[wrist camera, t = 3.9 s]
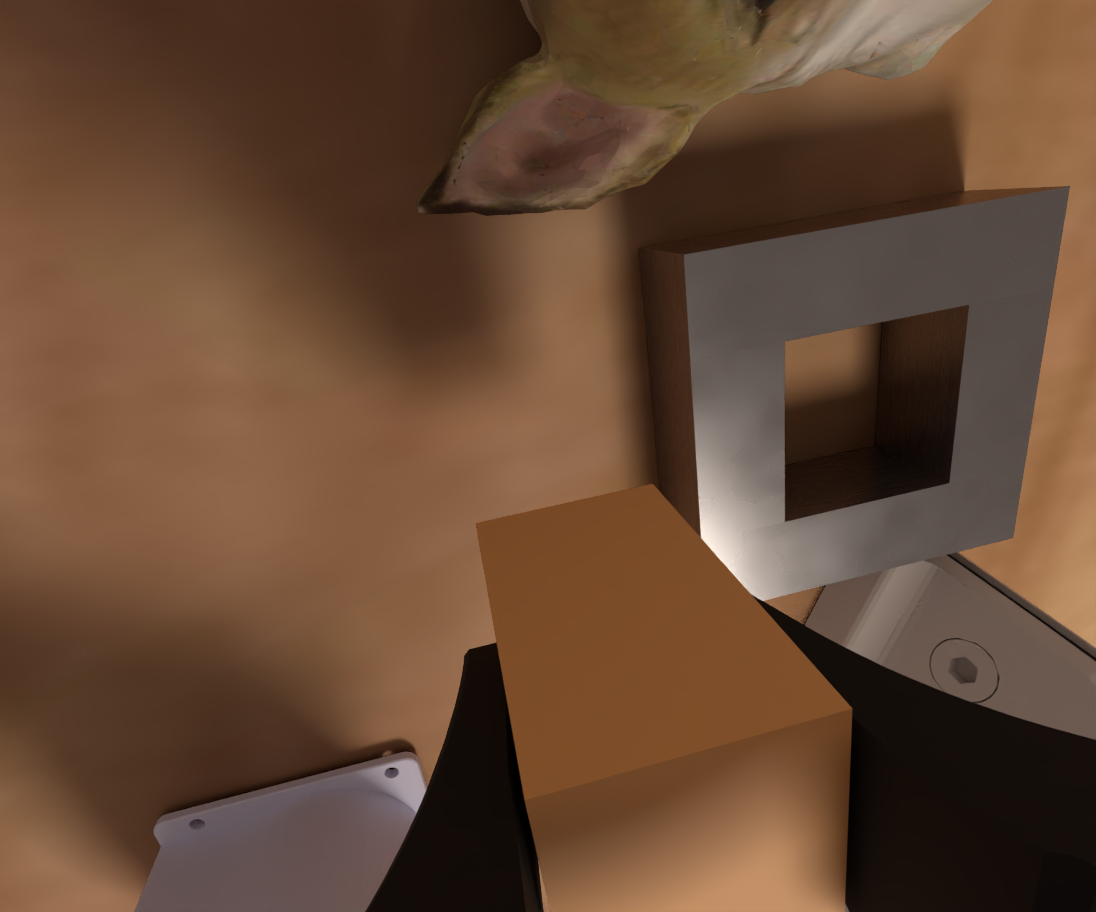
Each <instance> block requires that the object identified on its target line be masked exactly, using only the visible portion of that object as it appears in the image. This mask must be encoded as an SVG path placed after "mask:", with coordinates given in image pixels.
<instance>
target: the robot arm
mask: <svg viewBox="0 0 1096 912" xmlns="http://www.w3.org/2000/svg"><path fill="white" fill-rule="evenodd" d="M751 595H752V594H751ZM752 596H753V595H752ZM753 597H754V598H755V599H756V601H757V602H758V603H759V604H760V605H761V606H762V607H763V608H764V610H765V611H766V612H767V613H768V614H769V615H770V616H771V617H772V619H773V620H774V621H775V622H776V623H777V624H778V625H779V626H780V628H781V629H782V630H783V631H784V632H785V633H786V634H787V635H788V637H789V638H790V639H791V640H792V641H793V642H794V643H795V644H796V646H797V647H798V648H799V649H800V650H801V651H802V652H803V653H804V655H805V656H806V657H807V658H808V659H809V660H810V661H811V663H812V664H813V665H814V666H815V667H816V668H817V669H818V670H819V672H820V673H821V674H822V675H823V676H824V677H825V678H826V679H827V681H828V682H829V683H830V684H831V685H832V686H833V687H834V688H835V690H836V691H837V692H838V693H839V694H840V695H841V696H842V697H843V699H844V700H845V701H846V702H847V703H848V704H849V705H850V706H851V708H852V732H851V759H850V785H849V811H848V837H847V864H846V890H845V904H846V906H847V908H848V910H849V912H1096V740H1095V739H1091V738H1088V737H1084V736H1080V735H1076V734H1073V733H1069V732H1065V731H1062V730H1058V729H1054V728H1051V727H1047V726H1044V725H1041V724H1037V723H1034V722H1031V721H1027V720H1024V719H1021V718H1017V717H1014V716H1011V715H1008V714H1005V713H1002V712H999V711H996V710H993V709H991V708H988V707H985V706H982V705H979V704H976V703H973V702H970V701H967V700H964V699H962V698H959V697H956V696H954V695H951V694H948V693H946V692H943V691H941V690H938V689H936V688H933V687H931V686H928V685H926V684H924V683H921V682H919V681H916V680H914V679H911V678H909V677H907V676H904V675H902V674H900V673H897V672H895V671H893V670H891V669H888V668H886V667H884V666H882V665H880V664H878V663H876V662H874V661H872V660H870V659H868V658H866V657H863V656H861V655H859V654H857V653H855V652H853V651H851V650H849V649H847V648H845V647H843V646H842V645H840V644H838V643H836V642H834V641H832V640H830V639H828V638H826V637H825V636H823V635H821V634H819V633H817V632H815V631H814V630H812V629H810V628H808V627H806V626H805V625H803V624H801V623H799V622H798V621H796V620H794V619H792V618H791V617H789V616H787V615H786V614H784V613H782V612H780V611H779V610H777V609H775V608H774V607H772V606H770V605H769V604H767V603H765V602H763V601H762V600H760V599H758V598H757V597H755V596H753ZM392 767H394V768H395V769H391V770H390V769H388V768H392ZM197 819H200V820H197ZM153 832H154V835H155V837H156V839H157V841H158V842H159V844H160V846H161V847H160V850H159V852H158V855H157V857H156V860H155V862H154V864H153V867H152V869H151V872H150V874H149V877H148V879H147V881H146V884H145V886H144V889H143V891H142V894H141V896H140V898H139V901H138V903H137V906H136V908H135V911H134V912H544V910H543V903H542V894H541V884H540V874H539V864H538V856H537V852H536V847H535V843H534V839H533V835H532V830H531V826H530V822H529V817H528V813H527V809H526V804H525V800H524V794H523V789H522V783H521V777H520V772H519V766H518V760H517V755H516V749H515V743H514V738H513V732H512V726H511V721H510V715H509V709H508V704H507V698H506V692H505V687H504V681H503V675H502V670H501V664H500V659H499V653H498V647H497V643H493V644H489V645H485V646H481V647H477V648H473V649H469V650H468V652H467V653H466V654H465V656H464V665H463V672H462V678H461V683H460V687H459V692H458V696H457V700H456V704H455V708H454V711H453V714H452V718H451V721H450V724H449V728H448V731H447V735H446V738H445V741H444V744H443V747H442V750H441V752H440V755H439V758H438V760H437V763H436V766H435V769H434V771H433V774H432V777H431V779H430V782H429V785H428V787H427V785H426V781H425V778H424V775H423V772H422V769H421V765H420V762H419V759H418V757H417V755H415V754H414V753H412V752H401V753H397V754H393V755H389V756H386V757H382V758H378V759H374V760H370V761H367V762H363V763H359V764H355V765H351V766H348V767H344V768H340V769H336V770H332V771H329V772H325V773H321V774H317V775H313V776H309V777H306V778H302V779H298V780H294V781H290V782H287V783H283V784H279V785H275V786H271V787H268V788H264V789H260V790H256V791H252V792H249V793H245V794H241V795H237V796H233V797H230V798H226V799H222V800H218V801H214V802H210V803H207V804H203V805H199V806H195V807H191V808H188V809H184V810H180V811H176V812H172V813H169V814H165V815H163V816H161V817H160V818H159V819H158V820H157V823H156V825H155V827H154V830H153Z"/></svg>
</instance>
